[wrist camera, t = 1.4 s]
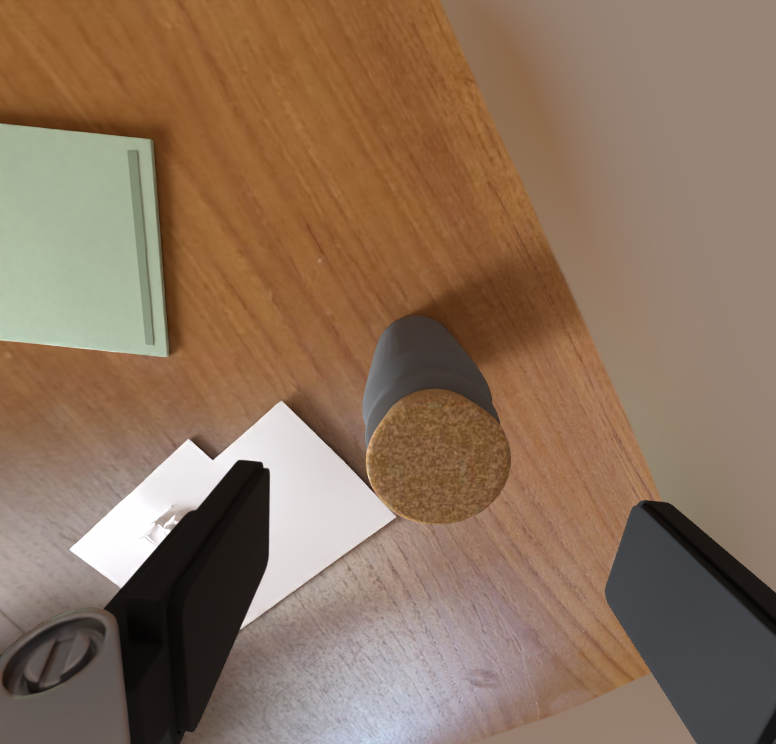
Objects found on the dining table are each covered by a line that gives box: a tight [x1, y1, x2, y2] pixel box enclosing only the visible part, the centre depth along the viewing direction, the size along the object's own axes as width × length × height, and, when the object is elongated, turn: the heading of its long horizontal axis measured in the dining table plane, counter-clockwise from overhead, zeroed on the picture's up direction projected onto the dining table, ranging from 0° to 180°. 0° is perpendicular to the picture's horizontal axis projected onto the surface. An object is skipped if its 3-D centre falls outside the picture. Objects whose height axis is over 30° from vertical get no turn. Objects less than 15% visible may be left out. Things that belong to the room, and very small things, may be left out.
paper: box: [69, 401, 396, 630], centre depth 30 cm, size 25×17×1 cm
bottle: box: [362, 316, 511, 525], centre depth 19 cm, size 6×6×15 cm
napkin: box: [0, 123, 170, 357], centre depth 24 cm, size 14×14×1 cm
